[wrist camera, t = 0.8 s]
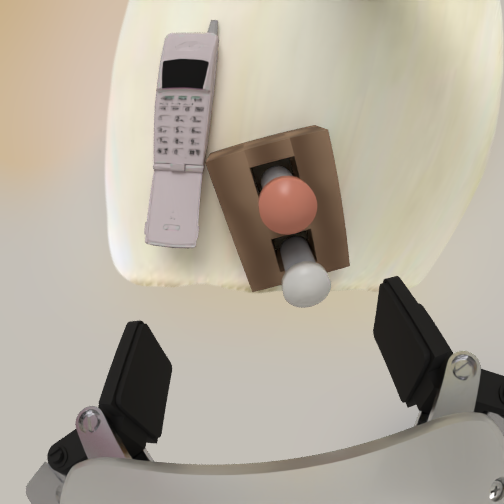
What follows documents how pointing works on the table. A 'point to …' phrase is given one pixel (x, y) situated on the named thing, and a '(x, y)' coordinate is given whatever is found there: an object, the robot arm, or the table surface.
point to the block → (246, 194)
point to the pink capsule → (285, 201)
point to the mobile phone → (181, 136)
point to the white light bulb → (302, 274)
